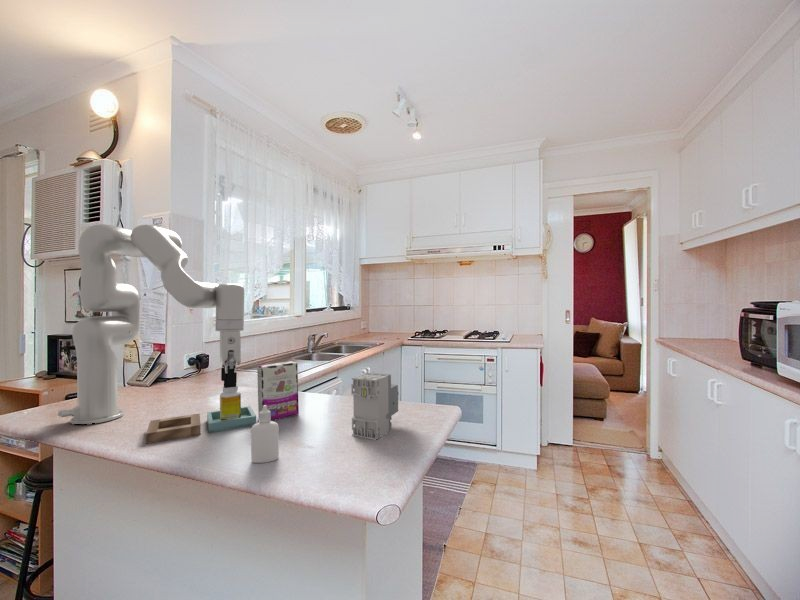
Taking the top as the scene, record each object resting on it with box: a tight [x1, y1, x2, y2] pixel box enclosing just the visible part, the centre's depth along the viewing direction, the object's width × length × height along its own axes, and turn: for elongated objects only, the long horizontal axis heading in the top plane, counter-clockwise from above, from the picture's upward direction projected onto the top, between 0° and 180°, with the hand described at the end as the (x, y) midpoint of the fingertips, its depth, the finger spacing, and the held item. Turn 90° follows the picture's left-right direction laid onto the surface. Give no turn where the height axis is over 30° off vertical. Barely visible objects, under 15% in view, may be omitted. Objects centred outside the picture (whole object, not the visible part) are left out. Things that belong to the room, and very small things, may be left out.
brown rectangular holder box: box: [145, 413, 202, 445], centre depth 98 cm, size 12×12×2 cm
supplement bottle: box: [219, 384, 242, 421], centre depth 105 cm, size 6×6×10 cm
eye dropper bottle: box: [250, 405, 280, 464], centre depth 79 cm, size 4×6×12 cm
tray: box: [206, 405, 257, 434], centre depth 105 cm, size 12×12×2 cm
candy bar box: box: [256, 360, 300, 421], centre depth 110 cm, size 11×5×16 cm, turn 129°
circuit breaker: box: [350, 372, 399, 440], centre depth 98 cm, size 8×14×15 cm, turn 155°
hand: (228, 383), depth 105 cm, fingers open, 9 cm apart
